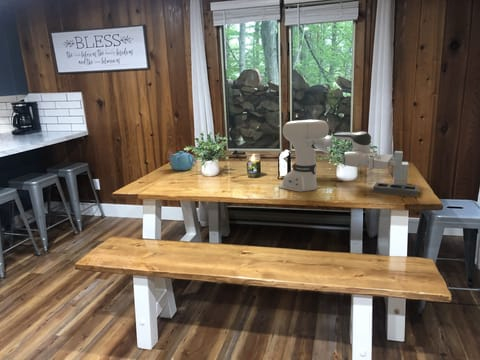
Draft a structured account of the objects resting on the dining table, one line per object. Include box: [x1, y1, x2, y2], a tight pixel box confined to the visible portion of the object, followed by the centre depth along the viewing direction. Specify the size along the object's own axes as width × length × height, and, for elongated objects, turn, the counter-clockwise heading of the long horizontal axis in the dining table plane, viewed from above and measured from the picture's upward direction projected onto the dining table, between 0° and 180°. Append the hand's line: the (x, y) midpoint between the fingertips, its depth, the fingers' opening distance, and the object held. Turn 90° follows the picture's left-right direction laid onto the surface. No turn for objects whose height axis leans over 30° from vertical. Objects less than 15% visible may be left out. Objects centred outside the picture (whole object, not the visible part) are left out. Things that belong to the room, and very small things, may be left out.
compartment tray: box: [372, 182, 420, 198], centre depth 210 cm, size 22×10×3 cm, turn 61°
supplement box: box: [392, 161, 409, 185], centre depth 222 cm, size 7×7×13 cm
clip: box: [392, 150, 404, 177], centre depth 206 cm, size 4×4×13 cm
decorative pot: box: [168, 150, 196, 172], centre depth 280 cm, size 16×16×14 cm
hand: (399, 162), depth 206 cm, fingers closed on clip, 4 cm apart
